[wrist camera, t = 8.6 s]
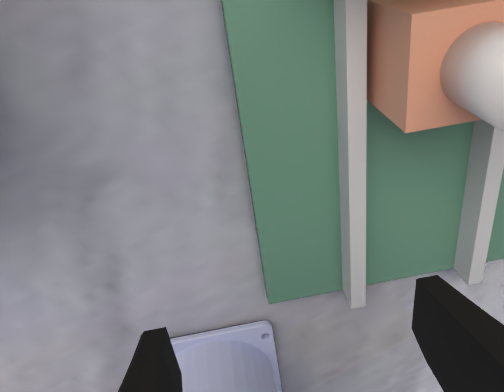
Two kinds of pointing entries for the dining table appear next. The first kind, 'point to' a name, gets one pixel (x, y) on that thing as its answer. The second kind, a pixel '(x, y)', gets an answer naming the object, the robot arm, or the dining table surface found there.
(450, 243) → the pitch board
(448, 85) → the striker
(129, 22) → the dining table surface
